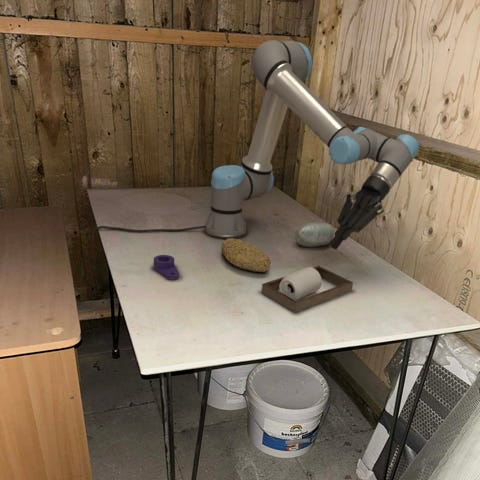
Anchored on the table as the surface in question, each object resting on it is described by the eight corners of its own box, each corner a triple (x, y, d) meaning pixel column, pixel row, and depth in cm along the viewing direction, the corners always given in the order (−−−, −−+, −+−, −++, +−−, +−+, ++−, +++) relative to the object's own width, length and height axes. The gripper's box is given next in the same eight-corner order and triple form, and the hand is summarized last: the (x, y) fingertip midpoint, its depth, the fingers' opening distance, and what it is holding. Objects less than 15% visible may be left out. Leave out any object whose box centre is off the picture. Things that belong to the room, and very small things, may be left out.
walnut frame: (295, 313, 130) (296, 303, 129) (261, 292, 139) (262, 283, 138) (351, 291, 144) (353, 282, 142) (317, 274, 153) (318, 265, 151)
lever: (151, 265, 150) (150, 256, 149) (169, 262, 153) (169, 253, 151) (165, 281, 141) (165, 272, 140) (184, 278, 144) (184, 268, 143)
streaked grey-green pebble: (327, 229, 179) (329, 211, 170) (336, 249, 174) (339, 231, 166) (292, 238, 178) (293, 220, 169) (300, 258, 173) (301, 240, 165)
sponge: (216, 258, 161) (232, 271, 143) (220, 235, 159) (237, 245, 141) (252, 262, 166) (272, 276, 148) (257, 240, 164) (277, 251, 146)
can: (327, 284, 138) (301, 297, 130) (310, 294, 144) (285, 306, 136) (315, 262, 138) (289, 273, 131) (298, 272, 144) (272, 283, 136)
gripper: (401, 196, 139) (354, 261, 138) (366, 185, 148) (321, 245, 147) (395, 180, 133) (345, 247, 133) (358, 169, 142) (311, 232, 141)
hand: (332, 246), depth 140 cm, fingers closed
